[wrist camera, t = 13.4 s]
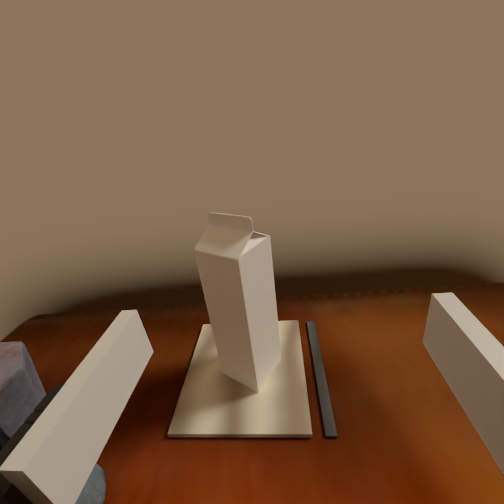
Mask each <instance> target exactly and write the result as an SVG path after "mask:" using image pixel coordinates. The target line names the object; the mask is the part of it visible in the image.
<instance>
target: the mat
mask: <svg viewBox="0 0 504 504" xmlns="http://www.w3.org/2000/svg"><path fill="white" fill-rule="evenodd" d="M307 327H308V333H309V339H310V345H311V351H312V357H313V363H314V369H315V375H316V381H317V388H318V394H319V400H320V406H321V412H322V418H323V424H324V430H325V436H326V438H337V432H336V427H335V422H334V417H333V412H332V407H331V402H330V397H329V392H328V387H327V382H326V377H325V372H324V367H323V362H322V357H321V352H320V347H319V342H318V337H317V332H316V327H315V322H314V321H307ZM278 329H279V339H280V350H281V361H280V362H279V364H278V365H277V366H276V368H275V369H274V371H273V372H272V374H271V375H270V377H269V378H268V379H267V381H266V382H265V384H264V385H263V387H262V388H261V389H260V391H259V392H256V391H254V390H253V389H251V388H249V387H247V386H245V385H243V384H241V383H239V382H238V381H236V380H234V379H232V378H230V377H228V376H226V375H225V374H223V373H222V370H221V365H220V361H219V357H218V352H217V348H216V344H215V339H214V335H213V331H212V327H211V324H203V327H202V330H201V333H200V336H199V339H198V342H197V345H196V348H195V351H194V354H193V357H192V360H191V363H190V366H189V370H188V373H187V376H186V379H185V382H184V385H183V388H182V391H181V394H180V397H179V400H178V403H177V406H176V409H175V412H174V415H173V418H172V421H171V425H170V428H169V431H168V437H277V438H312V428H311V420H310V412H309V404H308V396H307V388H306V380H305V372H304V364H303V356H302V348H301V340H300V331H299V323H298V320H292V321H278Z"/></svg>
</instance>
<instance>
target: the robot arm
mask: <svg viewBox="0 0 504 504" xmlns="http://www.w3.org/2000/svg"><path fill="white" fill-rule="evenodd" d="M423 345H424V346H425V348H426V349H427V351H428V353H429V354H430V356H431V358H432V359H433V361H434V362H435V364H436V366H437V367H438V369H439V371H440V372H441V374H442V376H443V377H444V379H445V380H446V382H447V384H448V385H449V387H450V389H451V390H452V392H453V393H454V395H455V397H456V398H457V400H458V402H459V403H460V405H461V406H462V408H463V410H464V411H465V413H466V415H467V416H468V418H469V419H470V421H471V423H472V424H473V426H474V428H475V429H476V431H477V432H478V434H479V436H480V437H481V439H482V441H483V442H484V444H485V445H486V447H487V449H488V450H489V452H490V454H491V455H492V457H493V458H494V460H495V462H496V463H497V465H498V467H499V468H500V470H501V471H502V473H503V475H504V347H503V346H502V345H501V344H500V343H499V342H498V341H497V340H496V338H495V337H494V336H493V335H492V334H491V333H490V332H489V331H488V330H487V329H486V328H485V327H484V326H483V325H482V324H481V323H480V322H479V320H478V319H477V318H476V317H475V316H474V315H473V314H472V313H471V312H470V311H469V310H468V309H467V308H466V307H465V306H464V305H463V304H462V303H461V301H460V300H459V299H458V298H457V297H456V296H455V295H454V294H453V293H436V294H432V296H431V302H430V307H429V312H428V317H427V322H426V327H425V333H424V338H423ZM152 353H153V349H152V347H151V344H150V342H149V339H148V337H147V334H146V332H145V330H144V327H143V325H142V322H141V320H140V317H139V315H138V312H137V310H125V311H121V312H120V314H119V315H118V316H117V317H116V319H115V320H114V321H113V323H112V324H111V325H110V326H109V328H108V329H107V330H106V332H105V333H104V334H103V335H102V337H101V338H100V339H99V341H98V342H97V343H96V344H95V346H94V347H93V348H92V350H91V351H90V352H89V353H88V355H87V356H86V357H85V359H84V360H83V361H82V362H81V364H80V365H79V366H78V368H77V369H76V370H75V371H74V373H73V374H72V375H71V377H70V378H69V379H68V380H67V382H66V383H60V384H59V385H57V386H56V387H55V388H54V389H53V390H51V391H50V392H49V393H48V394H47V395H45V397H44V398H43V399H42V400H41V401H40V403H39V404H38V405H37V406H36V408H35V409H34V412H32V413H31V414H30V415H29V416H28V417H27V419H26V420H25V421H24V424H22V425H21V426H20V427H19V428H18V430H17V431H16V432H15V433H14V435H13V436H12V437H11V438H10V440H9V441H8V442H7V443H6V444H5V446H4V447H3V448H2V449H1V451H0V504H75V503H76V501H77V499H78V497H79V495H80V493H81V491H82V489H83V487H84V485H85V483H86V481H87V479H88V477H89V475H90V474H91V472H92V470H93V468H94V466H95V464H96V462H97V460H98V458H99V456H100V454H101V452H102V450H103V448H104V446H105V444H106V443H107V441H108V439H109V437H110V435H111V433H112V431H113V429H114V427H115V425H116V423H117V421H118V419H119V417H120V415H121V413H122V412H123V410H124V408H125V406H126V404H127V402H128V400H129V398H130V396H131V394H132V392H133V390H134V388H135V386H136V384H137V382H138V381H139V379H140V377H141V375H142V373H143V371H144V369H145V367H146V365H147V363H148V361H149V359H150V357H151V355H152Z"/></svg>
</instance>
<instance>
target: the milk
mask: <svg viewBox="0 0 504 504" xmlns="http://www.w3.org/2000/svg"><path fill="white" fill-rule="evenodd" d="M207 217H208V222H209V226H208V228H207V229H206V231H205V233H204V234H203V236H202V237H201V239H200V240H199V242H198V244H197V245H196V247H195V248H194V253H195V257H196V262H197V266H198V270H199V275H200V279H201V283H202V287H203V292H204V296H205V301H206V305H207V309H208V314H209V318H210V322H211V327H212V331H213V335H214V339H215V344H216V348H217V352H218V357H219V361H220V365H221V370H222V373H223V374H225V375H226V376H228V377H230V378H232V379H234V380H236V381H238V382H239V383H241V384H243V385H245V386H247V387H249V388H251V389H253V390H254V391H256V392H259V391H260V389H261V388H262V387H263V385H264V384H265V382H266V381H267V379H268V378H269V377H270V375H271V374H272V372H273V371H274V369H275V368H276V366H277V365H278V364H279V362H280V361H281V350H280V339H279V329H278V318H277V307H276V296H275V286H274V276H273V264H272V253H271V242H270V236H268V235H265V234H261V233H257V232H254V231H253V223H252V219H251V218H250V217H246V216H238V215H230V214H220V213H213V212H208V214H207Z"/></svg>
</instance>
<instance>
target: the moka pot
mask: <svg viewBox="0 0 504 504" xmlns="http://www.w3.org/2000/svg"><path fill="white" fill-rule="evenodd" d="M45 395H46V393H45V391H44V388H43V386H42V384H41V381H40V379H39V377H38V374H37V372H36V370H35V367H34V365H33V363H32V360H31V358H30V356H29V354H28V351H27V349H26V347H25V344H24V343H22V342H0V451H1V449H2V448H3V447H4V446H5V444H6V443H7V442H8V441H9V440H10V438H11V437H12V436H13V435H14V433H15V432H16V431H17V430H18V428H19V427H20V426H21V425H22V424H24V421H25V420H26V419H27V417H28V416H29V415H30V414H31V413H32V412H34V409H35V408H36V406H37V405H38V404H39V403H40V401H41V400H42V399H43V398H44V397H45ZM105 494H106V484H105V472H104V470H103V469H102V468H101V467H100V466H99V465H98V464H97V463H96V464H95V466H94V468H93V470H92V472H91V474H90V475H89V477H88V479H87V481H86V483H85V485H84V487H83V489H82V491H81V493H80V495H79V497H78V499H77V501H76V503H75V504H103V502H104V499H105Z"/></svg>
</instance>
